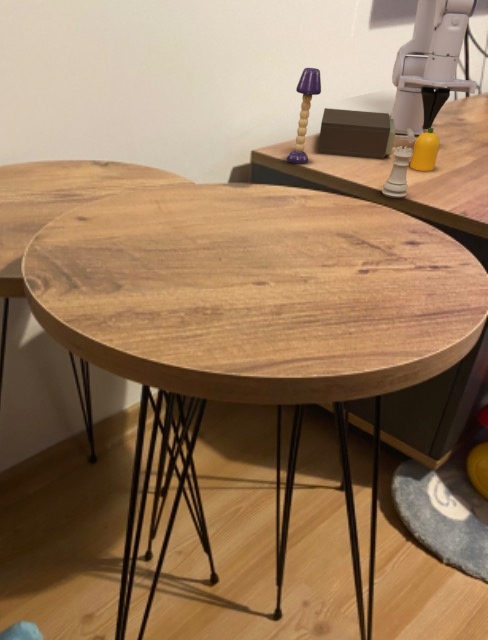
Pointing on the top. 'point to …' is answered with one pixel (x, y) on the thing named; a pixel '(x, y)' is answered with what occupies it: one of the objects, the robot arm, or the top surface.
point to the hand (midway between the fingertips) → (426, 128)
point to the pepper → (425, 151)
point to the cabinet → (354, 133)
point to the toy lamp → (305, 111)
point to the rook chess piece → (398, 174)
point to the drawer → (392, 136)
